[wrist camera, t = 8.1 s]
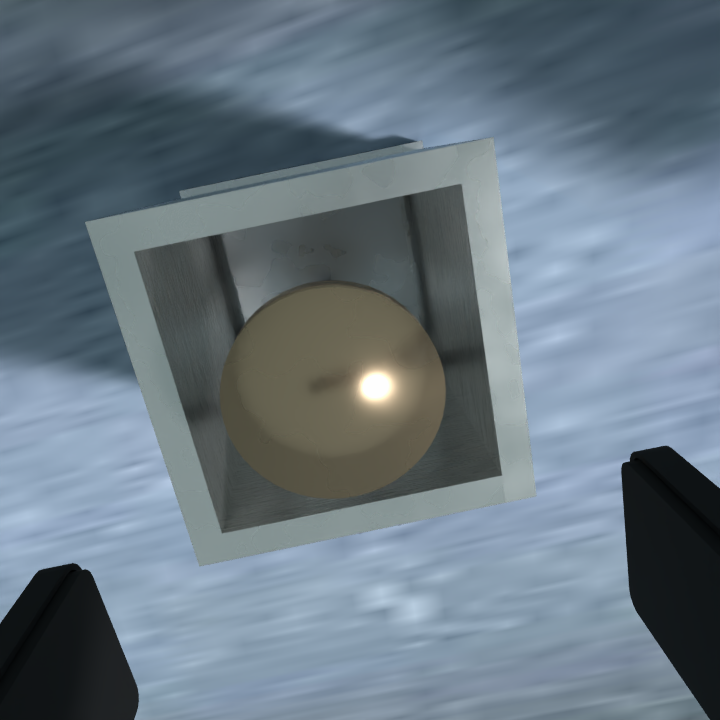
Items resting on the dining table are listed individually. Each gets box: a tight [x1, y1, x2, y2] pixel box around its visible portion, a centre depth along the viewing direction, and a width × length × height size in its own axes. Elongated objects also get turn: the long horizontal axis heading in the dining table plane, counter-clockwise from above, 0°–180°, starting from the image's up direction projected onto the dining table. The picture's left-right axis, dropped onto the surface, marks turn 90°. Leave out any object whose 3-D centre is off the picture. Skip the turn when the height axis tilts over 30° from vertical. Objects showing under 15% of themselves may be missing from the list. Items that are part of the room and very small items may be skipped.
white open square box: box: [85, 137, 536, 566], centre depth 30 cm, size 14×14×18 cm
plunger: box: [220, 197, 446, 499], centre depth 27 cm, size 10×10×17 cm
